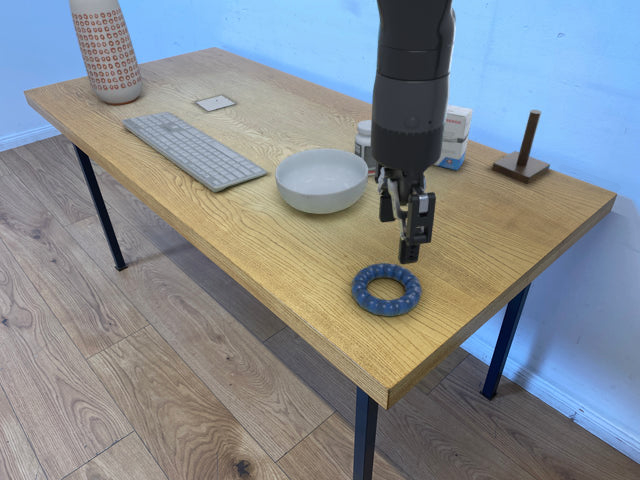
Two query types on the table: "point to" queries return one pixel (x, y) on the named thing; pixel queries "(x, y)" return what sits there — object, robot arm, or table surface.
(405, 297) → the blue teething ring
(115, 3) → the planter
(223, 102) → the coaster
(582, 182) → the table surface
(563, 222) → the table surface
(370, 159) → the pill bottle
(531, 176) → the stand
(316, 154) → the cereal bowl
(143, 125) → the keyboard
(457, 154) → the ink box
